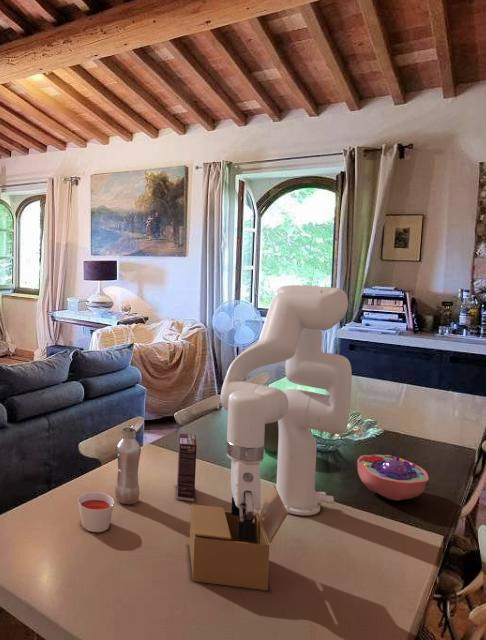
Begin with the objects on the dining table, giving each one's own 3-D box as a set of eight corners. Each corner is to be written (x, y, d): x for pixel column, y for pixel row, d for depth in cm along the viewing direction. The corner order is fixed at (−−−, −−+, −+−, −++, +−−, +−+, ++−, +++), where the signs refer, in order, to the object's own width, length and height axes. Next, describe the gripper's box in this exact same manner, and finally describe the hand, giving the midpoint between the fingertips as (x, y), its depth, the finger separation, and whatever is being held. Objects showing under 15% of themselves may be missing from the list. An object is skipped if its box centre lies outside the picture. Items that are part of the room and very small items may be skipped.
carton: (256, 554, 119) (257, 510, 118) (267, 590, 107) (269, 542, 106) (189, 546, 122) (190, 504, 121) (193, 581, 109) (194, 533, 108)
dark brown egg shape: (294, 448, 183) (296, 406, 182) (287, 462, 171) (289, 417, 170) (252, 439, 190) (254, 399, 189) (242, 452, 179) (244, 409, 178)
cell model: (418, 486, 155) (420, 449, 154) (432, 518, 137) (435, 475, 136) (353, 475, 162) (355, 439, 161) (358, 503, 144) (361, 463, 143)
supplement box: (195, 502, 143) (197, 445, 142) (177, 500, 144) (178, 443, 143) (193, 487, 152) (195, 434, 150) (176, 486, 152) (178, 432, 151)
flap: (257, 511, 118) (258, 512, 118) (268, 542, 106) (270, 543, 106) (272, 484, 117) (274, 485, 117) (286, 512, 105) (288, 513, 105)
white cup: (88, 538, 124) (89, 513, 124) (71, 520, 132) (71, 496, 132) (120, 530, 128) (121, 505, 128) (101, 513, 136) (101, 489, 136)
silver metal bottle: (112, 496, 146) (114, 425, 144) (136, 495, 146) (138, 425, 145) (117, 507, 139) (118, 434, 138) (142, 507, 140) (144, 433, 139)
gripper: (272, 468, 103) (268, 552, 104) (256, 436, 120) (253, 508, 121) (232, 465, 104) (229, 547, 105) (222, 434, 121) (219, 505, 122)
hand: (242, 526), depth 113 cm, fingers open, 9 cm apart
